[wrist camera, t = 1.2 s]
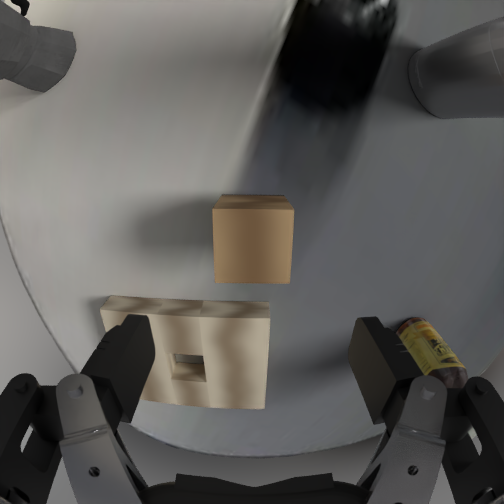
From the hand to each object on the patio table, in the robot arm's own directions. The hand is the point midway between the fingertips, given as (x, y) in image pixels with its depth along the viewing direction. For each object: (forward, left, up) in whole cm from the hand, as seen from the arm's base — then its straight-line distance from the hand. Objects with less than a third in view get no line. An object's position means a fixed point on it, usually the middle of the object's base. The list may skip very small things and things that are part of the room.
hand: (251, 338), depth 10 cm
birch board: (+8, +18, -20) cm, 28 cm away
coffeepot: (+26, -23, -20) cm, 40 cm away
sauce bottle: (-23, +16, -20) cm, 35 cm away
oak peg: (0, 0, -20) cm, 20 cm away
